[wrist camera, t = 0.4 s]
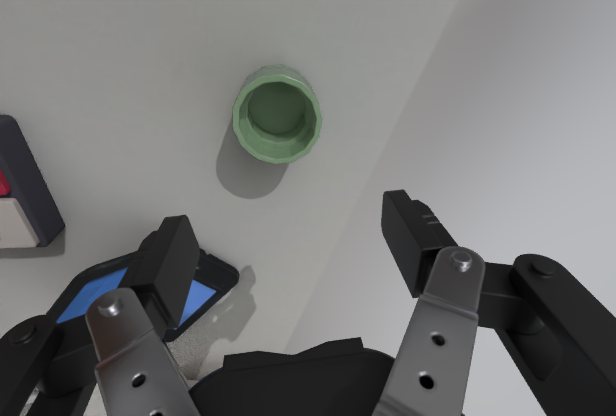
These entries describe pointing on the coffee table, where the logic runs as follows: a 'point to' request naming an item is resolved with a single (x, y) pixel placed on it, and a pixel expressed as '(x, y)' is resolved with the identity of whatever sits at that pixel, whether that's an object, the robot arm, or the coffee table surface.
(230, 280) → the game console
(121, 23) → the coffee table surface
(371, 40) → the coffee table surface
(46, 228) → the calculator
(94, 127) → the coffee table surface
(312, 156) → the coffee table surface
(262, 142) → the bowl
